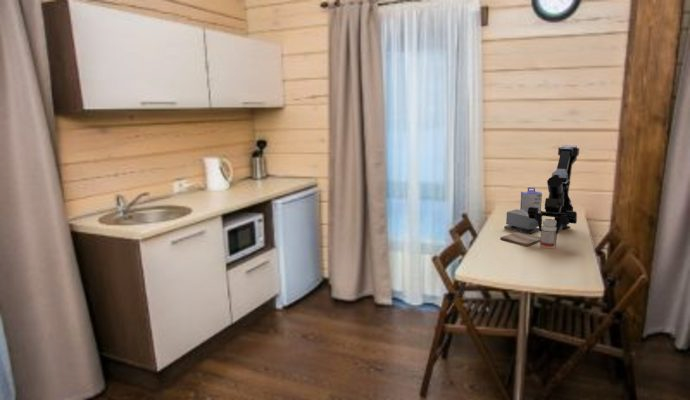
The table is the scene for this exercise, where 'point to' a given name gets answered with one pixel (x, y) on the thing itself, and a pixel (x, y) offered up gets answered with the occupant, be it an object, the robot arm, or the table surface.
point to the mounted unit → (521, 222)
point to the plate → (521, 238)
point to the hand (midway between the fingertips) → (548, 232)
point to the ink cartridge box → (530, 199)
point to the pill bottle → (548, 234)
